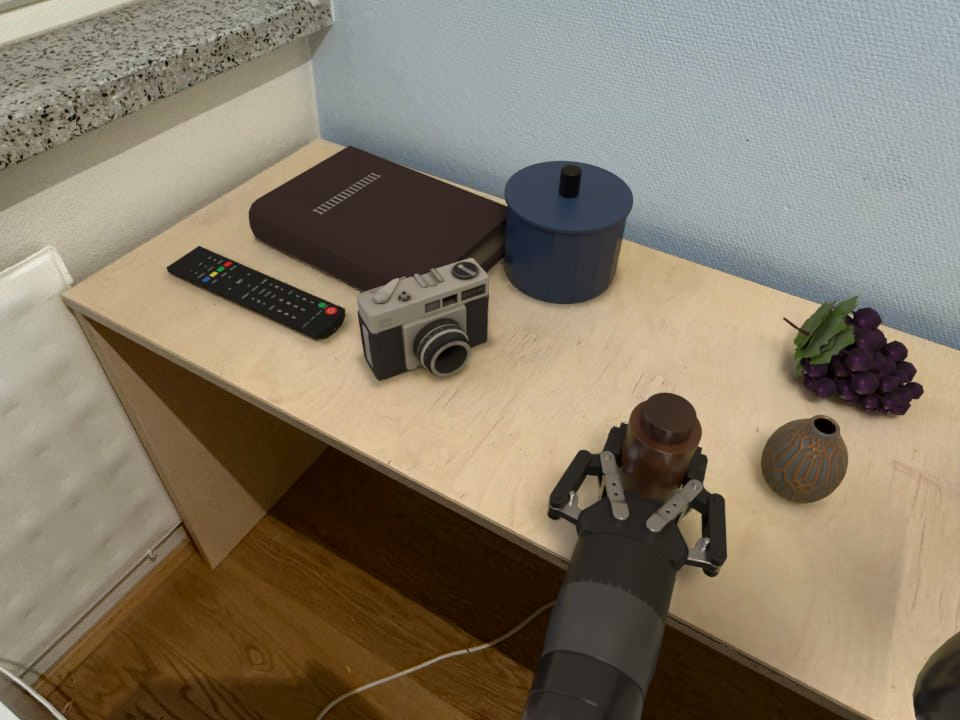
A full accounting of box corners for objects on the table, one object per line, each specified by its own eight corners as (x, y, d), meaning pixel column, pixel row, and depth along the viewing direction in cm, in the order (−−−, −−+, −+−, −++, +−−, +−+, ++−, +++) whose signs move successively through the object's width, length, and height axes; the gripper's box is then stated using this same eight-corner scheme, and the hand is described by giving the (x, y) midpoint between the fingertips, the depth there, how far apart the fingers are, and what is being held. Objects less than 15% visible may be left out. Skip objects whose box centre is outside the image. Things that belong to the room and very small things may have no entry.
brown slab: (254, 245, 88) (244, 206, 84) (354, 182, 99) (349, 145, 95) (423, 329, 77) (421, 289, 73) (513, 247, 89) (516, 209, 84)
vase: (759, 443, 66) (790, 384, 60) (832, 471, 64) (872, 412, 58) (744, 496, 62) (776, 438, 56) (822, 527, 60) (864, 470, 54)
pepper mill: (675, 497, 62) (715, 400, 52) (658, 545, 58) (696, 451, 49) (618, 473, 64) (646, 375, 54) (597, 519, 60) (623, 423, 50)
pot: (628, 255, 88) (644, 184, 80) (590, 317, 79) (604, 245, 72) (531, 225, 92) (537, 156, 85) (485, 281, 84) (487, 209, 76)
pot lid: (648, 188, 81) (655, 157, 78) (605, 253, 72) (612, 220, 69) (535, 157, 86) (538, 127, 83) (481, 215, 76) (482, 183, 73)
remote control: (201, 254, 86) (198, 245, 85) (349, 319, 78) (348, 310, 77) (169, 276, 83) (166, 267, 82) (320, 346, 75) (318, 337, 74)
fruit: (869, 453, 70) (743, 373, 72) (897, 381, 75) (778, 309, 77) (942, 414, 61) (795, 324, 63) (969, 336, 66) (831, 255, 68)
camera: (381, 405, 69) (371, 332, 62) (360, 349, 75) (349, 277, 68) (505, 372, 73) (509, 299, 66) (476, 321, 79) (476, 250, 72)
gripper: (729, 635, 42) (758, 439, 53) (515, 553, 46) (584, 386, 57) (699, 678, 47) (731, 492, 58) (509, 602, 51) (573, 440, 62)
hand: (658, 440), depth 58 cm, fingers closed on pepper mill, 5 cm apart
